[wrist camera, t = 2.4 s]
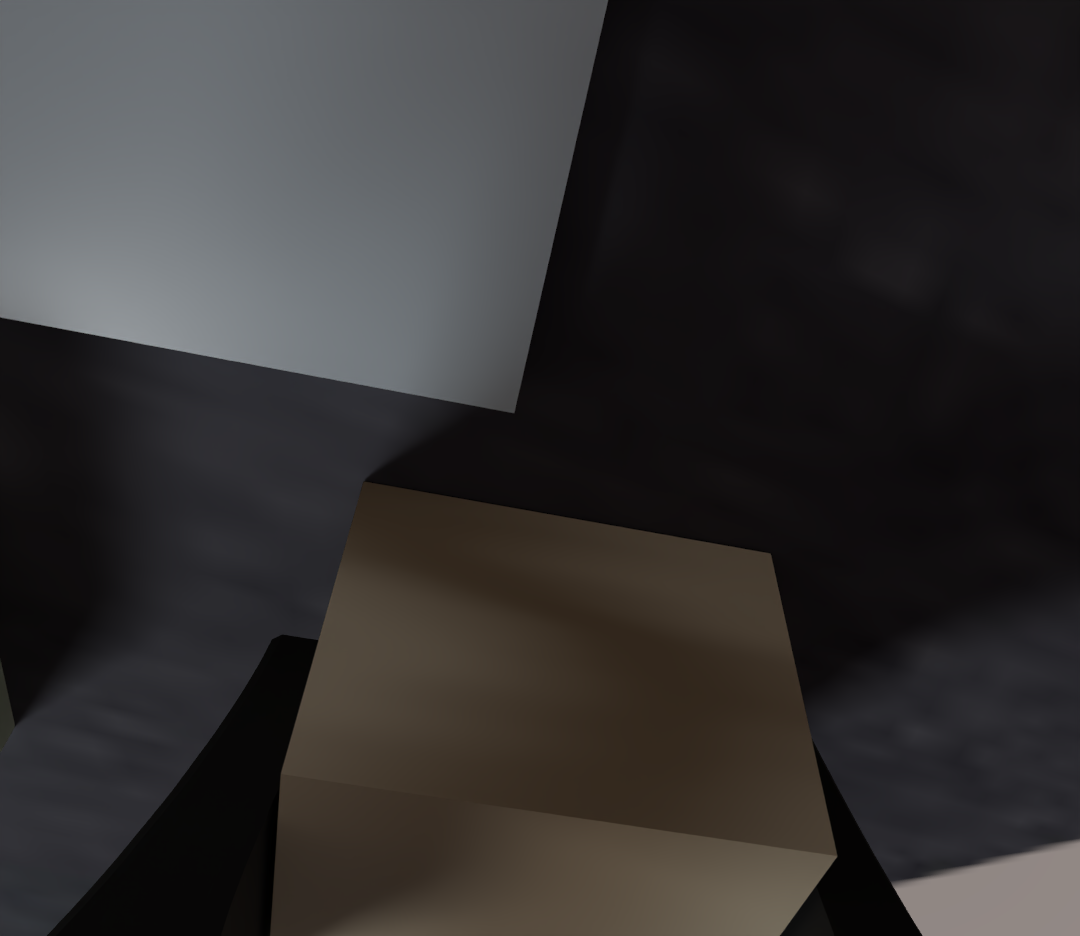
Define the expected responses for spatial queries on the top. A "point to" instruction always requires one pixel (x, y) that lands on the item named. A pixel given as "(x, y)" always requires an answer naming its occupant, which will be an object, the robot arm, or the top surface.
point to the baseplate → (294, 179)
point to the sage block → (5, 712)
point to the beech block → (546, 735)
